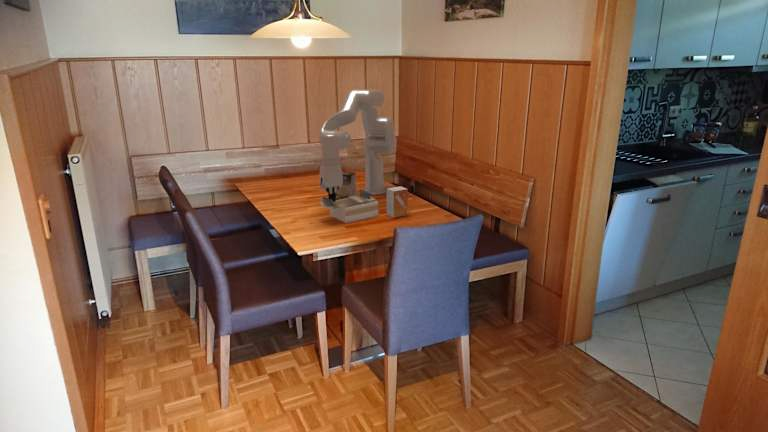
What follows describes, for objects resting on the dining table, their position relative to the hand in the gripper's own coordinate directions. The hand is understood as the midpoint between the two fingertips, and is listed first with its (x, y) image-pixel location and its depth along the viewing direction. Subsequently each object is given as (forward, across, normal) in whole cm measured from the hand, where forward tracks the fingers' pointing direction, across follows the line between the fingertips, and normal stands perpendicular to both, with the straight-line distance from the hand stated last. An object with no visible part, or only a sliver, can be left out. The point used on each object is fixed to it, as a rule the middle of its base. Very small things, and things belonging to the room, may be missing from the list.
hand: (332, 201), depth 232 cm
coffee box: (+9, -20, -20) cm, 30 cm away
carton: (+9, -12, 0) cm, 15 cm away
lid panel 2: (+2, -16, 0) cm, 16 cm away
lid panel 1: (+2, 0, 0) cm, 2 cm away
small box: (+9, -29, +11) cm, 32 cm away
